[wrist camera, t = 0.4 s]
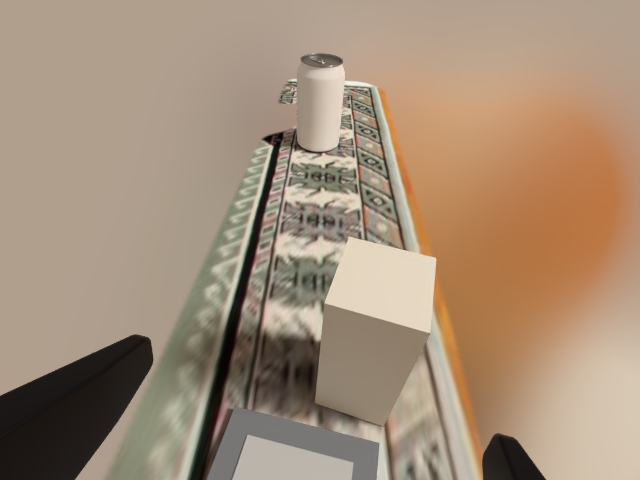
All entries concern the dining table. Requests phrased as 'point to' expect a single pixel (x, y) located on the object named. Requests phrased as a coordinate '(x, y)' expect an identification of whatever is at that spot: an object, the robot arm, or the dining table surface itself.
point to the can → (319, 101)
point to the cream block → (373, 328)
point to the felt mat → (290, 451)
